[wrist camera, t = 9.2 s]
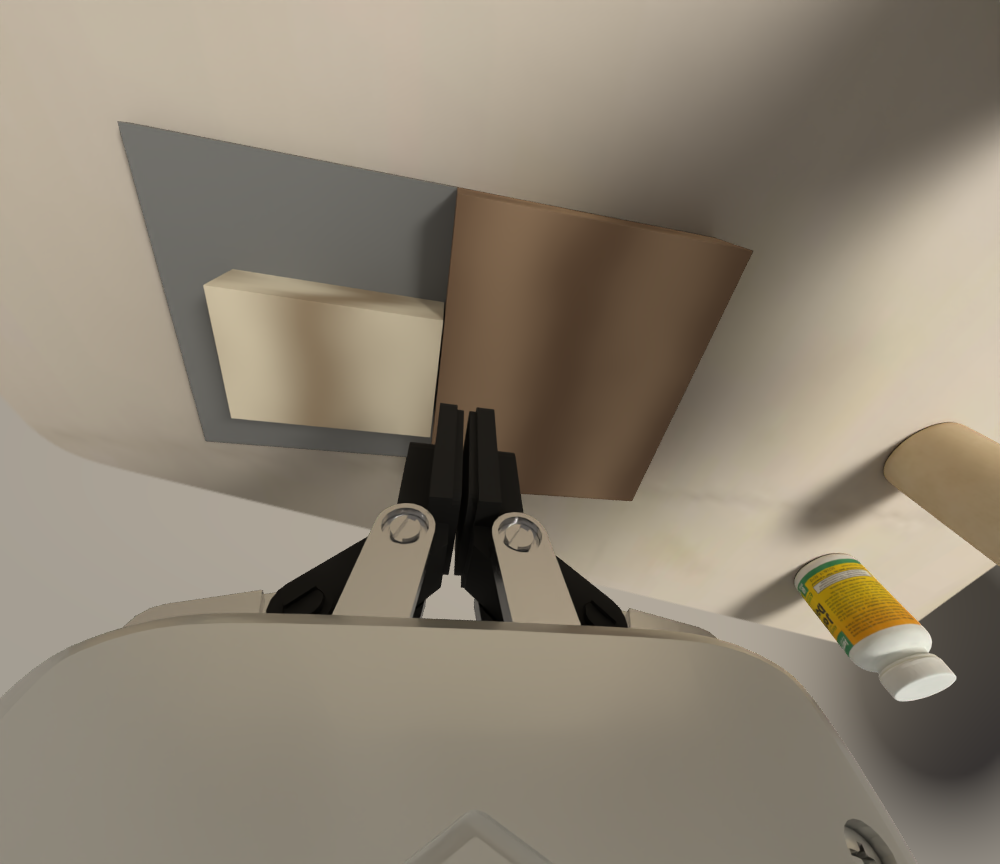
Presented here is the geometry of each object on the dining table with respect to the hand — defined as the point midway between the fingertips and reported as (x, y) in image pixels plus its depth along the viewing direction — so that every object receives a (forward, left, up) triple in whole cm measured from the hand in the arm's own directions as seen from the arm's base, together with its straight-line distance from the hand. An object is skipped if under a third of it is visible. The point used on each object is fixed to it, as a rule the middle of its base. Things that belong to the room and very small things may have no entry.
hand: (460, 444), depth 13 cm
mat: (+7, +1, -9) cm, 12 cm away
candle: (-33, +4, -10) cm, 35 cm away
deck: (-5, +1, -9) cm, 11 cm away
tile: (+5, +1, -8) cm, 9 cm away
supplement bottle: (-34, +17, -10) cm, 39 cm away
